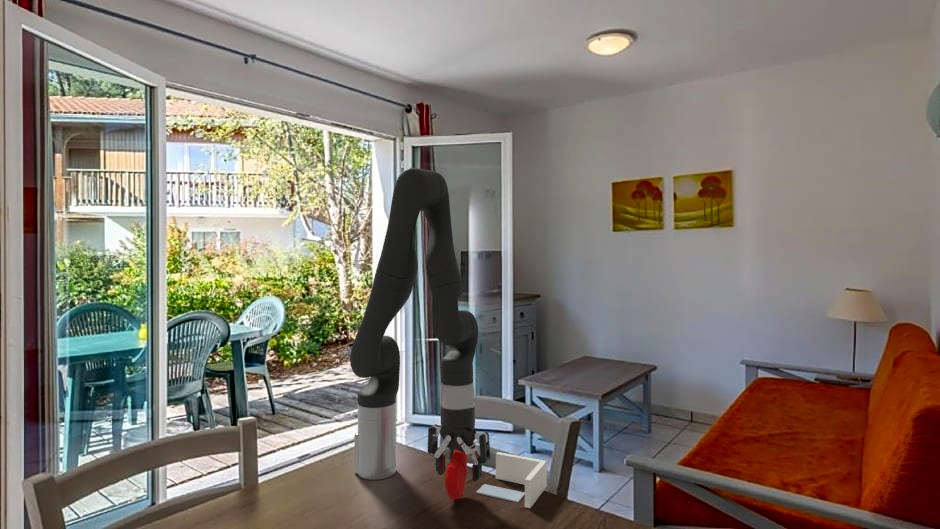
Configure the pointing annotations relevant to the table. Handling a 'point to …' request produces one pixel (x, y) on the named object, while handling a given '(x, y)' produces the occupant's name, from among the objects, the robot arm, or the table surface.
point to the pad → (501, 493)
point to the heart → (456, 475)
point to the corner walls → (523, 474)
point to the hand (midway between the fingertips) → (458, 477)
